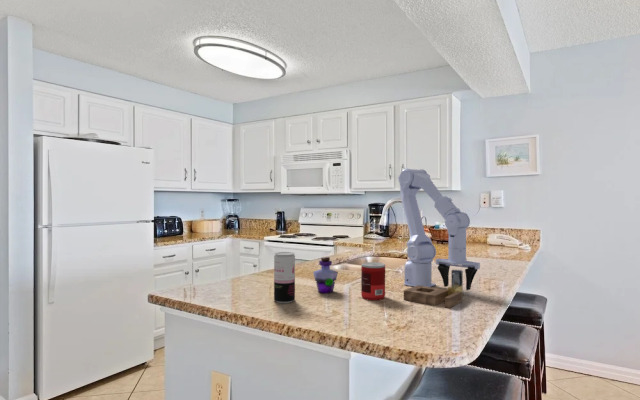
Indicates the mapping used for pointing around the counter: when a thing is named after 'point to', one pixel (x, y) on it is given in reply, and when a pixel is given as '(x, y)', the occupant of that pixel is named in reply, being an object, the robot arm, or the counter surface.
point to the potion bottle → (325, 276)
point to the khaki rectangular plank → (454, 289)
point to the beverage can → (284, 277)
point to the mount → (432, 296)
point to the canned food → (373, 281)
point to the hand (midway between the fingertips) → (457, 287)
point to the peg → (457, 278)
